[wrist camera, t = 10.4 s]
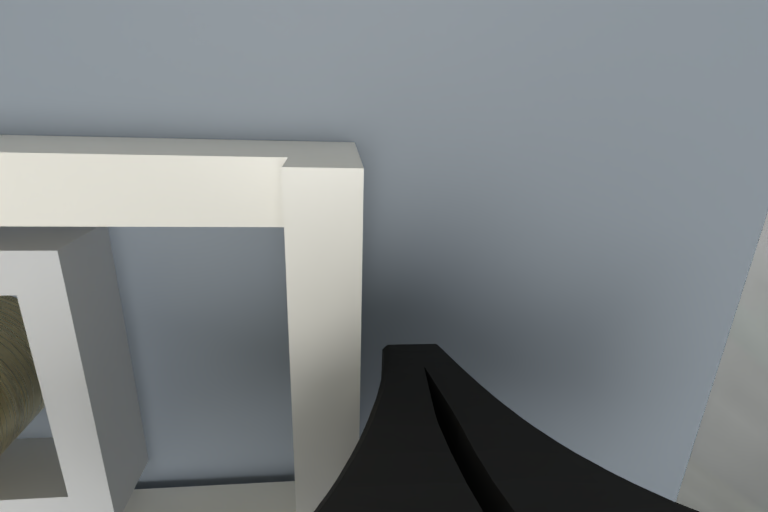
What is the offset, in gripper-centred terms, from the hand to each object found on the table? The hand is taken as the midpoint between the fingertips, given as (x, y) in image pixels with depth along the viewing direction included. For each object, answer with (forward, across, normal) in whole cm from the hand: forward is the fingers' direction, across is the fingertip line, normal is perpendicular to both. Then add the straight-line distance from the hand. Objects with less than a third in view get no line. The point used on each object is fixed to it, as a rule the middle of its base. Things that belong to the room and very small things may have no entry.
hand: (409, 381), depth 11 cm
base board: (+3, +2, -2) cm, 4 cm away
